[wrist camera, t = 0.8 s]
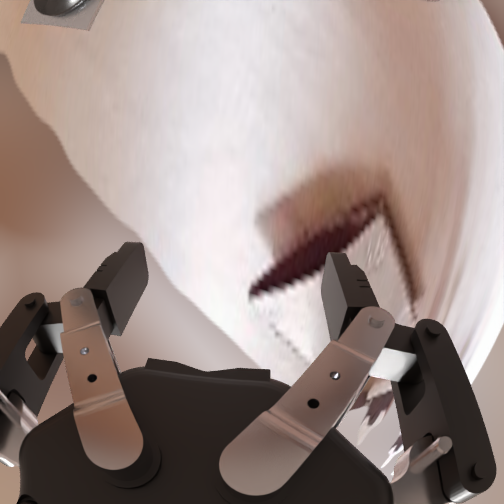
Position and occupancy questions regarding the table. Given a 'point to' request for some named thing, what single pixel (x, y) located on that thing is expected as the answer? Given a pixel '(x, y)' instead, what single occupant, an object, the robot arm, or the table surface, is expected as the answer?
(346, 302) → the robot arm
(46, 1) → the stand
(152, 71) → the table surface
